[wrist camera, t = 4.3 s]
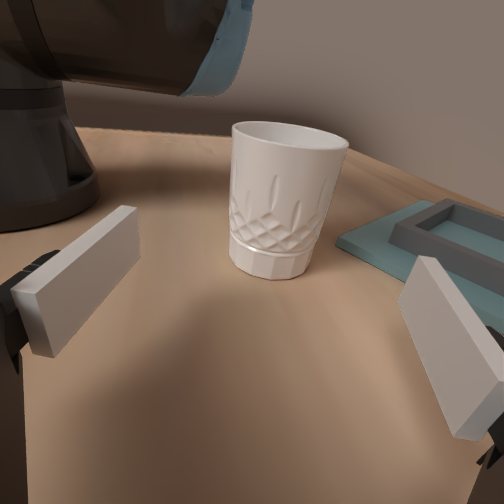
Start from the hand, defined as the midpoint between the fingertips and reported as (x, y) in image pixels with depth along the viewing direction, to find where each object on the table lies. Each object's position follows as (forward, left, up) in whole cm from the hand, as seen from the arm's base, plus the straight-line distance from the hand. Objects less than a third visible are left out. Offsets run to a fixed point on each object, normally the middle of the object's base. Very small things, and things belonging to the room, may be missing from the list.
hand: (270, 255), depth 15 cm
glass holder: (+6, +24, -6) cm, 26 cm away
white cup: (-6, +7, -6) cm, 12 cm away
